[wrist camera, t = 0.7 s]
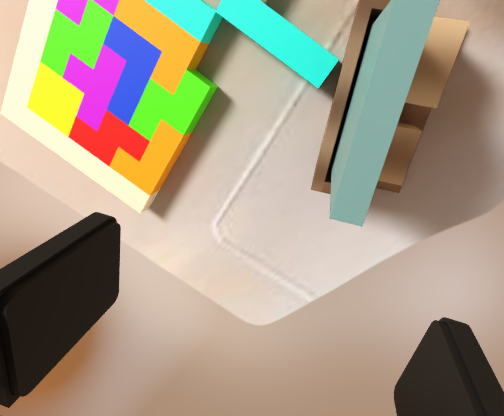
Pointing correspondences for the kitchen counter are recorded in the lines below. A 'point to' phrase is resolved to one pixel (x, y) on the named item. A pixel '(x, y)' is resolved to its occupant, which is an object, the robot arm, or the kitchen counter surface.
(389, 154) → the offcut short
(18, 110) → the puzzle game
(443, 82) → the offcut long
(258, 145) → the kitchen counter surface
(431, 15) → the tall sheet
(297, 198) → the kitchen counter surface
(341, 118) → the rack
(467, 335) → the robot arm
